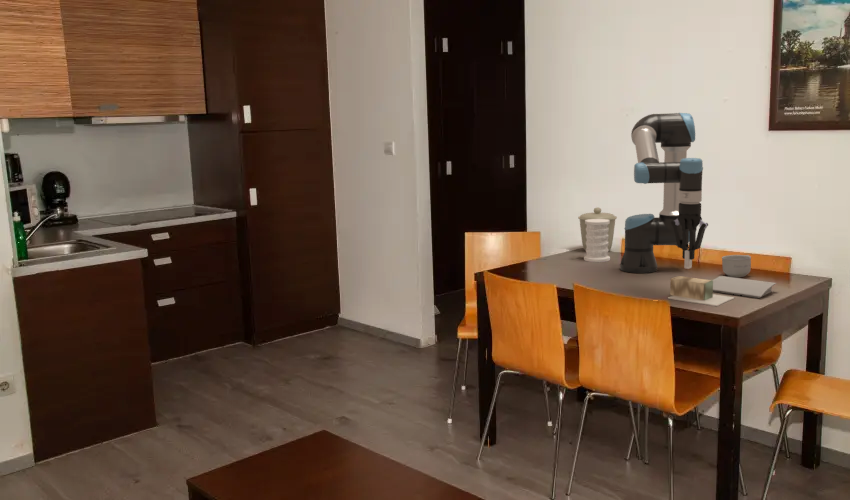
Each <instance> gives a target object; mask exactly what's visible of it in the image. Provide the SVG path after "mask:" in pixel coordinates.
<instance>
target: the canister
mask: <svg viewBox="0 0 850 500" xmlns="http://www.w3.org/2000/svg"><path fill="white" fill-rule="evenodd" d="M617 218H618V217H617V216H615V214H613V213H610V212H609V213H608V212H602V208H600V207H597V206H596V207H595V208H594V209H593V212H587V213H586V212H585V213H582V214H581V215H580V216H578V219H579V227H580V228H579V229H580V237H581V245H582V249H583V250H584V251H586V248H587V246H586V241H587V239H586V234H587V232H586V227H587V225H586V224H585V220H588V219H607V220H610V224H608V228H609V231H608V236H609V237H608V243H609V244H608V250H609V251H610V250H611V249H612V246H613V241H614V234H615V225H616V220H617Z"/></svg>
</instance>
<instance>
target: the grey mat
mask: <svg viewBox="0 0 850 500" xmlns="http://www.w3.org/2000/svg"><path fill="white" fill-rule="evenodd" d="M667 299H668V300H675V301H679V302H685V303H687V302H688V303H692V304H699V305H706V306H713V307H719V306H721V305H724V304H726V303H728V302H730V301H732V300H733V299H734V300H735V296H729V295H720V294H715V293H713V297H712V298H709V299H707V300H700V299H693V298H687V297H680V296H674V295H669V296H668V297H667Z"/></svg>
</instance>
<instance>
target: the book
mask: <svg viewBox="0 0 850 500" xmlns="http://www.w3.org/2000/svg"><path fill="white" fill-rule="evenodd" d="M712 280H713V293H714V292H715V293H722V294H727V295H733V294H734V295H735V296H740V295H742V296H741V297H748V298H755V299H759V298H762V297H764V296H766V295H768V294H771V293H772V287H774V286H775V285H777V282H769V281H762V280H756V279H755V280H754V279H749V278H742V277H729V276H725V275H724V276H723V275H719V276H717V277H716V278H714V279H712Z"/></svg>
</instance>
